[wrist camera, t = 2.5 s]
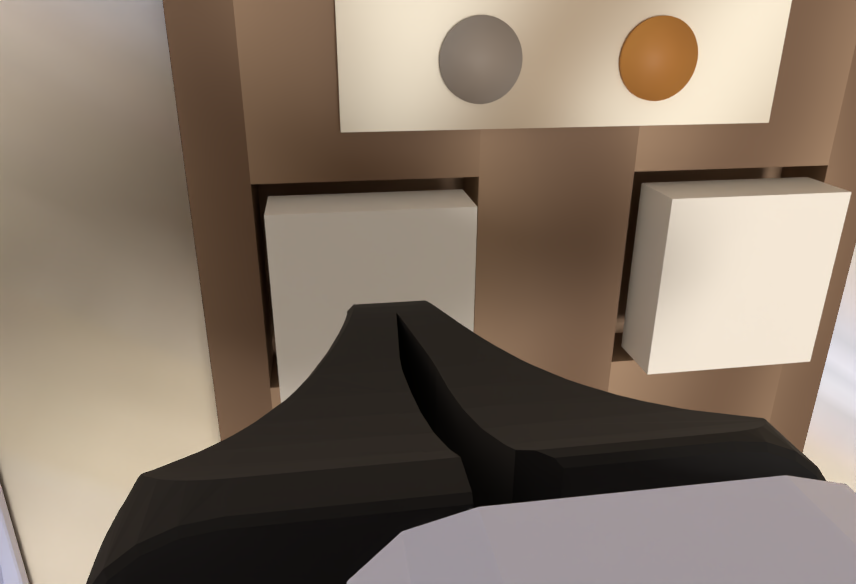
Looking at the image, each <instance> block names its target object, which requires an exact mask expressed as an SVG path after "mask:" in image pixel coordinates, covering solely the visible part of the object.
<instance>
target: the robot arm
mask: <svg viewBox="0 0 856 584" xmlns="http://www.w3.org/2000/svg"><path fill="white" fill-rule="evenodd" d="M0 584H29V581H28V578H27V574H26V571H25V567H24V564H23V561H22V557H21V554H20V550H19V547H18V543H17V540H16V536H15V533H14V529H13V526H12V522H11V519H10V515H9V512H8V508H7V505H6V501H5V498H4V494H3V491H2V487H1V484H0ZM86 584H856V493H855V492H854V491H853V490H852V489H851V488H850V487H849V486H847V485H846V484H842V483H835V482H828V481H826V480H825V478H824V476H823V475H822V473H821V472H820V470H819V468H818V467H817V466H816V465H815V464H814V463H813V462H811V461H810V460H809V459H808V458H807V457H806V456H805V455H804V454H803V453H802V452H801V451H799V450H798V449H797V448H796V447H795V446H794V445H793V444H792V443H791V442H790V441H789V440H787V439H786V438H785V437H784V436H783V435H782V434H781V433H780V432H779V431H778V430H777V429H775V428H774V427H773V426H772V425H771V424H770V423H769V422H768V421H767V420H766V419H764V418H758V417H749V416H740V415H732V414H723V413H714V412H705V411H696V410H689V409H682V408H677V407H672V406H667V405H661V404H656V403H651V402H646V401H641V400H637V399H633V398H629V397H624V396H620V395H616V394H613V393H609V392H606V391H603V390H599V389H596V388H593V387H589V386H586V385H583V384H580V383H577V382H574V381H571V380H568V379H565V378H563V377H560V376H558V375H555V374H553V373H551V372H548V371H546V370H543V369H541V368H538V367H536V366H534V365H532V364H529V363H527V362H525V361H523V360H521V359H519V358H517V357H515V356H513V355H512V354H510V353H508V352H506V351H504V350H502V349H501V348H499V347H497V346H495V345H493V344H492V343H490V342H488V341H487V340H485V339H483V338H482V337H480V336H479V335H477V334H475V333H474V332H472V331H471V330H469V329H468V328H466V327H465V326H463V325H462V324H460V323H459V322H457V321H456V320H454V319H453V318H452V317H450V316H449V315H447V314H446V313H444V312H443V311H442V310H440V309H439V308H437V307H436V306H434V305H433V304H431V303H429V302H428V301H426V300H423V301H405V302H388V303H371V304H354V305H353V306H352V307H351V308H350V309H349V310H348V311H347V316H346V319H345V322H344V324H343V326H342V328H341V330H340V332H339V334H338V336H337V337H336V339H335V340H334V342H333V344H332V345H331V347H330V349H329V350H328V352H327V353H326V355H325V356H324V357H323V359H322V360H321V361H320V363H319V364H318V365H317V366H316V368H315V369H314V370H313V372H312V373H311V374H310V375H309V377H308V378H307V379H306V380H305V381H304V382H303V383H302V384H301V386H300V387H299V388H298V389H297V390H296V391H295V392H294V393H293V394H291V395H290V396H289V397H288V398H287V399H286V400H285V401H283V402H282V403H281V404H279V405H278V406H276V407H275V408H274V409H272V410H271V411H270V412H268V413H267V414H265V415H264V416H263V417H261V418H260V419H259V420H257V421H256V422H254V423H253V424H251V425H249V426H248V427H246V428H244V429H243V430H241V431H239V432H238V433H236V434H234V435H232V436H230V437H228V438H227V439H225V440H223V441H221V442H219V443H217V444H215V445H213V446H211V447H209V448H207V449H204V450H202V451H200V452H198V453H195V454H193V455H190V456H188V457H185V458H183V459H180V460H178V461H175V462H172V463H170V464H167V465H165V466H162V467H160V468H157V469H155V470H152V471H149V472H146V473H143V474H141V475H140V476H139V477H138V479H137V481H136V483H135V484H134V486H133V488H132V490H131V492H130V493H129V495H128V497H127V499H126V500H125V502H124V504H123V505H122V507H121V508H120V510H119V512H118V514H117V515H116V517H115V519H114V521H113V523H112V525H111V527H110V528H109V530H108V532H107V534H106V536H105V538H104V540H103V542H102V545H101V547H100V550H99V552H98V554H97V557H96V559H95V562H94V564H93V567H92V570H91V572H90V575H89V578H88V580H87V583H86Z"/></svg>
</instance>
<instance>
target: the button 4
mask: <svg viewBox="0 0 856 584" xmlns="http://www.w3.org/2000/svg"><path fill="white" fill-rule="evenodd" d="M850 196H851V192H850V191H847V190H844V189H841V188H838V187H835V186H832V185H830V184H827V183H824V182H821V181H818V180H815V179H812V178H809V177H791V178H763V179H735V180H707V181H679V182H651V183H642V184H641V192H640V200H639V208H638V216H637V224H636V232H635V240H634V248H633V256H632V264H631V272H630V280H629V288H628V296H627V304H626V312H625V320H624V328H623V336H622V344H621V346H622V348H623V349H624V350H625V351H626V352H627V353H628V354H629V355H630V356H631V357H632V358H633V359H634V361H635V362H636V363H637V364H638V365H639V366H640V367H641V368H642V369H643V370H644V371H645V372H646V374H647V375H648V374H660V373H673V372H685V371H698V370H711V369H723V368H736V367H748V366H761V365H773V364H786V363H798V362H810V360H811V356H812V352H813V348H814V344H815V340H816V335H817V331H818V327H819V323H820V319H821V315H822V311H823V307H824V303H825V299H826V295H827V290H828V286H829V282H830V278H831V274H832V270H833V266H834V262H835V258H836V254H837V250H838V246H839V241H840V237H841V233H842V229H843V225H844V221H845V217H846V213H847V209H848V205H849V201H850Z"/></svg>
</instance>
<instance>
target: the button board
mask: <svg viewBox="0 0 856 584" xmlns="http://www.w3.org/2000/svg"><path fill="white" fill-rule="evenodd" d="M163 7H164V15H165V23H166V30H167V38H168V45H169V53H170V60H171V68H172V75H173V83H174V90H175V98H176V105H177V113H178V121H179V128H180V136H181V143H182V151H183V158H184V166H185V173H186V181H187V188H188V196H189V204H190V211H191V219H192V226H193V234H194V241H195V249H196V256H197V264H198V271H199V279H200V286H201V294H202V302H203V309H204V317H205V324H206V332H207V339H208V347H209V354H210V362H211V369H212V377H213V384H214V392H215V400H216V407H217V415H218V422H219V430H220V437H221V441H223V440H225V439H227V438H228V437H230V436H232V435H234V434H236V433H238V432H239V431H241V430H243V429H244V428H246V427H248V426H249V425H251V424H253V423H254V422H256V421H257V420H259V419H260V418H261V417H263V416H264V415H265V414H267V413H268V412H270V411H271V410H272V409H274V408H275V407H276V406H278V405H279V404H281V398H280V387H279V376H278V365H277V354H276V343H275V332H274V321H273V310H272V299H271V287H270V276H269V265H268V254H267V243H266V232H265V221H264V213H265V208H266V204H267V199H268V196H287V195H315V194H343V193H371V192H399V191H427V190H455V189H463V190H464V192H465V193H466V194H467V195H468V196H469V197H470V199H471V200H472V201H473V202H474V203H475V205H476V206H477V237H476V268H475V299H474V330H473V332H474V333H475V334H477V335H479V336H480V337H482V338H483V339H485V340H487V341H488V342H490V343H492V344H493V345H495V346H497V347H499V348H501V349H502V350H504V351H506V352H508V353H510V354H512V355H513V356H515V357H517V358H519V359H521V360H523V361H525V362H527V363H529V364H532V365H534V366H536V367H538V368H541V369H543V370H546V371H548V372H551V373H553V374H555V375H558V376H560V377H563V378H565V379H568V380H571V381H574V382H577V383H580V384H583V385H586V386H589V387H593V388H596V389H599V390H603V391H606V392H609V393H613V394H616V395H620V396H624V397H629V398H633V399H637V400H641V401H646V402H651V403H656V404H661V405H667V406H672V407H677V408H682V409H689V410H696V411H705V412H714V413H723V414H732V415H740V416H749V417H758V418H764V419H766V420H767V421H768V422H769V423H770V424H771V425H772V426H773V427H774V428H775V429H777V430H778V431H779V432H780V433H781V434H782V435H783V436H784V437H785V438H786V439H787V440H789V441H790V442H791V443H792V444H793V445H794V446H795V447H796V448H797V449H798V450H799V451H801V452H803V448H804V444H805V440H806V436H807V433H808V429H809V425H810V421H811V417H812V413H813V409H814V405H815V401H816V397H817V393H818V389H819V385H820V381H821V377H822V374H823V370H824V366H825V362H826V358H827V354H828V350H829V346H830V342H831V338H832V334H833V330H834V326H835V322H836V319H837V315H838V311H839V307H840V303H841V299H842V295H843V291H844V287H845V283H846V279H847V275H848V271H849V267H850V263H851V260H852V256H853V252H854V248H855V244H856V0H163ZM791 177H809V178H812V179H815V180H818V181H821V182H824V183H827V184H830V185H832V186H835V187H838V188H841V189H844V190H847V191H850V192H851V196H850V201H849V205H848V209H847V213H846V217H845V221H844V225H843V229H842V233H841V237H840V241H839V246H838V250H837V254H836V258H835V262H834V266H833V270H832V274H831V278H830V282H829V286H828V290H827V295H826V299H825V303H824V307H823V311H822V315H821V319H820V323H819V327H818V331H817V335H816V340H815V344H814V348H813V352H812V356H811V360H810V362H798V363H786V364H773V365H761V366H748V367H736V368H723V369H711V370H698V371H685V372H673V373H660V374H648V375H647V374H646V372H645V371H644V370H643V369H642V368H641V367H640V366H639V365H638V364H637V363H636V362H635V361H634V359H633V358H632V357H631V356H630V355H629V354H628V353H627V352H626V351H625V350H624V349H623V348H622V346H621V344H622V336H623V328H624V320H625V312H626V304H627V296H628V288H629V280H630V272H631V264H632V256H633V248H634V240H635V232H636V224H637V216H638V208H639V200H640V192H641V184H642V183H651V182H679V181H707V180H735V179H763V178H791Z"/></svg>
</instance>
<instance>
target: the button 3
mask: <svg viewBox="0 0 856 584" xmlns="http://www.w3.org/2000/svg"><path fill="white" fill-rule="evenodd" d="M264 221H265V232H266V243H267V254H268V265H269V276H270V287H271V299H272V310H273V321H274V332H275V343H276V354H277V365H278V376H279V387H280V398H281V403H282V402H283V401H285V400H286V399H287V398H288V397H289V396H290V395H291V394H293V393H294V392H295V391H296V390H297V389H298V388H299V387H300V386H301V384H302V383H303V382H304V381H305V380H306V379H307V378H308V377H309V375H310V374H311V373H312V372H313V370H314V369H315V368H316V366H317V365H318V364H319V363H320V361H321V360H322V359H323V357H324V356H325V355H326V353H327V352H328V350H329V349H330V347H331V345H332V344H333V342H334V340H335V339H336V337H337V336H338V334H339V332H340V330H341V328H342V326H343V324H344V322H345V319H346V316H347V311H348V310H349V309H350V308H351V307H352V306H353V305H354V304H371V303H388V302H405V301H423V300H426V301H428V302H429V303H431V304H433V305H434V306H436V307H437V308H439V309H440V310H442V311H443V312H444V313H446V314H447V315H449V316H450V317H452V318H453V319H454V320H456V321H457V322H459V323H460V324H462V325H463V326H465V327H466V328H468V329H469V330H471V331H472V332H473V330H474V299H475V268H476V237H477V206H476V205H475V203H474V202H473V201H472V200H471V199H470V197H469V196H468V195H467V194H466V193H465V192H464V190H463V189H455V190H427V191H399V192H371V193H343V194H315V195H287V196H268V199H267V204H266V208H265V213H264Z"/></svg>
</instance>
